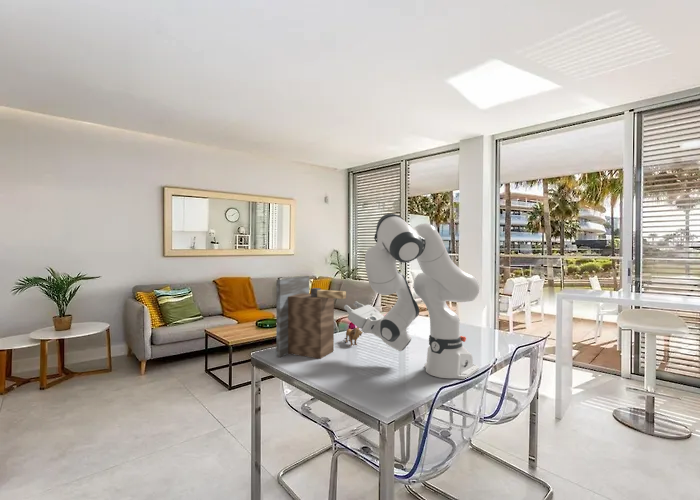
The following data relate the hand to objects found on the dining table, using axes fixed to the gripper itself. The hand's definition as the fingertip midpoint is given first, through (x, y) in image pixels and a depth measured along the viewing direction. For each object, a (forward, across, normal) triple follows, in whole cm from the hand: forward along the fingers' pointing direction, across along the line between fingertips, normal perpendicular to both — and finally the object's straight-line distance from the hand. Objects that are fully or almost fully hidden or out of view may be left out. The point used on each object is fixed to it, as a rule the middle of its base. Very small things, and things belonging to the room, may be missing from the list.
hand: (349, 304), depth 162 cm
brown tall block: (+6, 0, +31) cm, 31 cm away
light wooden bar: (+10, 0, +3) cm, 11 cm away
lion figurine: (-4, -22, +25) cm, 34 cm away
